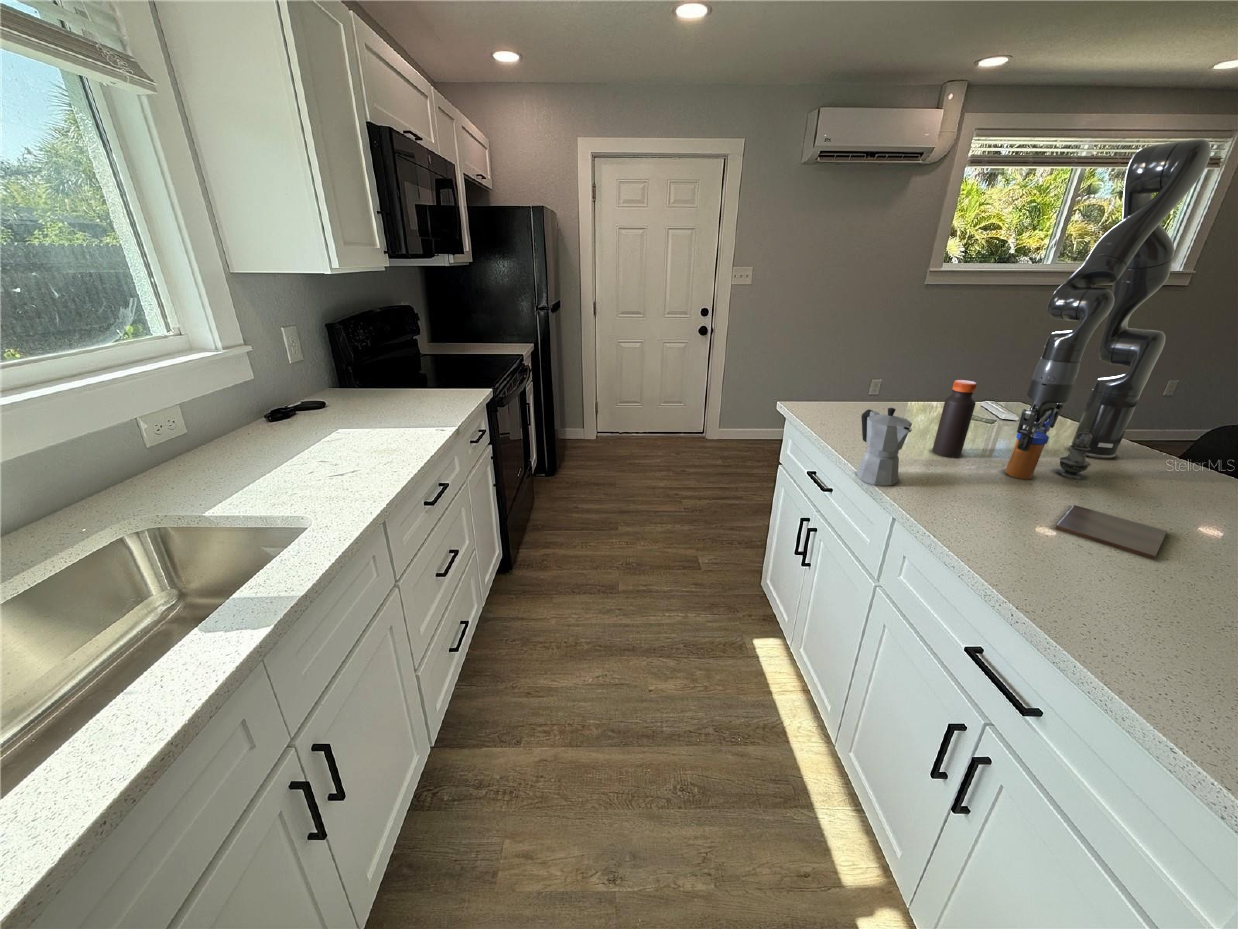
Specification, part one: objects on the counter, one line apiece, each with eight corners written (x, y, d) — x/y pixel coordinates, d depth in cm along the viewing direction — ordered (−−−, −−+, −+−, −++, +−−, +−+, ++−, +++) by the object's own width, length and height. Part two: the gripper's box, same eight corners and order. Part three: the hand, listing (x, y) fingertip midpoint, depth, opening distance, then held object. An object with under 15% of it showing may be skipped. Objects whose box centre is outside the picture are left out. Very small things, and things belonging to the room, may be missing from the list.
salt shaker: (1091, 480, 119) (1110, 433, 114) (1063, 478, 120) (1081, 432, 115) (1075, 470, 124) (1093, 425, 119) (1049, 468, 125) (1065, 424, 120)
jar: (1008, 467, 125) (1022, 430, 121) (1034, 475, 122) (1050, 437, 117) (1001, 473, 122) (1015, 435, 118) (1027, 481, 119) (1043, 442, 114)
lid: (1012, 434, 121) (1014, 428, 121) (1040, 437, 120) (1042, 431, 119) (1022, 442, 116) (1024, 437, 116) (1051, 445, 115) (1053, 439, 114)
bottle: (934, 455, 134) (953, 384, 126) (930, 447, 140) (947, 378, 132) (963, 459, 131) (984, 386, 124) (957, 450, 137) (977, 380, 129)
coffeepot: (913, 487, 115) (931, 414, 108) (878, 491, 114) (895, 417, 107) (868, 463, 129) (882, 396, 122) (837, 466, 127) (849, 399, 120)
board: (1072, 508, 106) (1074, 504, 105) (1165, 534, 96) (1167, 530, 95) (1055, 528, 98) (1056, 525, 97) (1153, 559, 88) (1155, 556, 87)
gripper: (1049, 372, 118) (1026, 438, 125) (1018, 379, 112) (996, 448, 119) (1087, 379, 112) (1061, 447, 119) (1057, 386, 106) (1032, 458, 113)
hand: (1029, 447), depth 119 cm, fingers closed on lid, 5 cm apart
